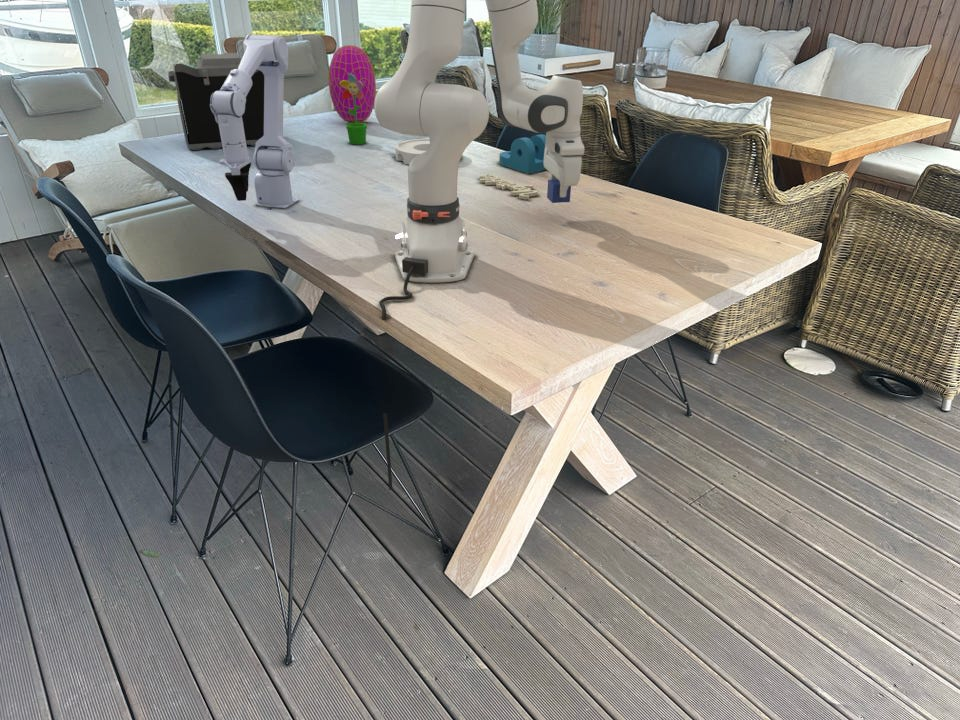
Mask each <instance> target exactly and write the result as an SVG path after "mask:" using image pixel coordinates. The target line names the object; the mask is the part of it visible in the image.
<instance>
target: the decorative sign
mask: <svg viewBox="0 0 960 720" xmlns="http://www.w3.org/2000/svg"><path fill="white" fill-rule="evenodd" d="M479 183H480V184H485V186H495V187H496V189H501V190H503V191H504V190H510V196H515V197H516V196H518V199H521V200H526V201H527V200H530V197H537V196H538V193H539V191H538V190H535V189H534V185H533V184H519V183H515V182H513V181H510V180H508V179H504V178H501V177H500V176H497V175H493V174H491V173H485V174H484V175H482V174H479Z"/></svg>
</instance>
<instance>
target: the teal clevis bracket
mask: <svg viewBox="0 0 960 720" xmlns="http://www.w3.org/2000/svg"><path fill="white" fill-rule="evenodd" d="M545 143H546V134H543V133H540V134H535V135H532V136H531V137H530V138H529V137H525V136H524V137H520V138H515V139H514V140H513V141H512V143H511V145H510V150H506V151H502V152H500V153H499V156H498V157H499V159H498V161H499V165H500V166H503V167H506V168H509V169H511V170H515V171H518V172H520V173H524V174H527V175H529V174H534V173H538V172H539V173H540V172H544V171H548V170H547V169H546V168H544V163H543V161H544V151H545Z"/></svg>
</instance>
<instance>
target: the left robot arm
mask: <svg viewBox="0 0 960 720" xmlns="http://www.w3.org/2000/svg"><path fill="white" fill-rule="evenodd" d="M242 43H243V55H242V58H241V59H242V60H241V62H240V65H239V67H238V69H234V70H231V72H230V74H229V75H228V77H227V79H226V80H225V82H224V84H223V86H222V87H221V89H220V91H215V92H214V93H213V94H212V95H211V98H210V108H211V111H212V113H213V114H214V116H215V121H216V122H217V123H218V124H219V130H220V135H221V141H222V146H223V147H222V151H223V157H224V159H220V160H219V163H220V165H225V166H226V167H228V169H229V170H230V172H225V173H224V177H225V179H226V180H227V181H228V183H229V185H230V187H231V188H232V191H233V193H234V195H235V199H236V200H237V201H238V202H241V201H242V202H243V201H247V192H249V178H250V177H249V175H250V169H251V166H252V162H251V160H250V158H249V152H248V146H247V145H246V139H245V133H244V127H243V120H242V115H243V114H244V112H245V103H246V96H247V94H248V92H249V90H250V89H251V87H252V79H251V77H252V75H253V74H254V72H255V71H256V70H257V69H258V70H260V71H262V72H263V74H264V136H263V137H262V138H260V139H259V140H258V141H257V142H256V146H254V147H255V148H254V152H253V156H252V160H253V165H254V167H255V169H257V171H258V172H257V173H256V174H255V176H254V180H253V181H254V182H253V183H254V189H255V196H256V203H255V205H256V206H259V207H269V208H275V209H287V208H289V207H291V206H293V205H294V204H295V203H297V202H299V201H300V200H299V198H293V193H292V186H291V185H292V184H291V177H290V173H291V172H292V171H293V169H294V167H295V156H294V151H293V149H294V148H293V145H292V144H291V143H290V142H289V141H288V140H287V139H286V138H285V137H284V99H285V98H284V96H285V94H284V92H285V91H284V90H285V89H284V87H285V73H286V72H287V71H288V69H289V47H288V44H287V41H286V39H285V37H284V36H283V35H281V34H276V35H268V34H266V35H264V34H251V33H249V34H247V35H246V36H245V38H244V40H243V42H242Z"/></svg>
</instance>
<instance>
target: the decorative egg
mask: <svg viewBox="0 0 960 720" xmlns="http://www.w3.org/2000/svg"><path fill="white" fill-rule="evenodd" d="M348 73H350V74H352V75H354V76H355V78H356V83H357V82H358V81H361V82H362V84H363V89H361V90H360V91H361V92H362V93H363V98H362V100H359V99H358V98H357V97H356V95H355V103H356V106H359V109H358V110H356V116H357V123H364V122H365V121H366V120H368V118H369V117H370V116H371V114H372V112H373V111H374V102H375V97H376V94H377V83H376V82H377V81H376V75H375V71H374V68H373V63H372V62H371V60H370V57H369V56H368V54H367V53H366V51H365V50H363V48H361V47H359V46H357V45H353V44H352V45H351V44H348V45H343V46H340V47H338V48H337V49H336V51H334V53H333V56H332V57H331V61H330V63H329V69H328V90H329V96H330V99H331V103H332V105H333V108H334V110H335V111H336V113H337V114H338V116H339V118H341V119H342V120H343V121H344V122H346V123H348V124H349V123H355V115H351V114H349V112H348V111H349V110H354V100H353V95H352V96H351V97H350V98H348V99H341V97H342V94H343V93H344V91H345V90H347V89H346V88H343V87H342V86H341V85H340V84H339V83H340V82H341V81H342V80H346V81H349V78H348Z"/></svg>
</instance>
